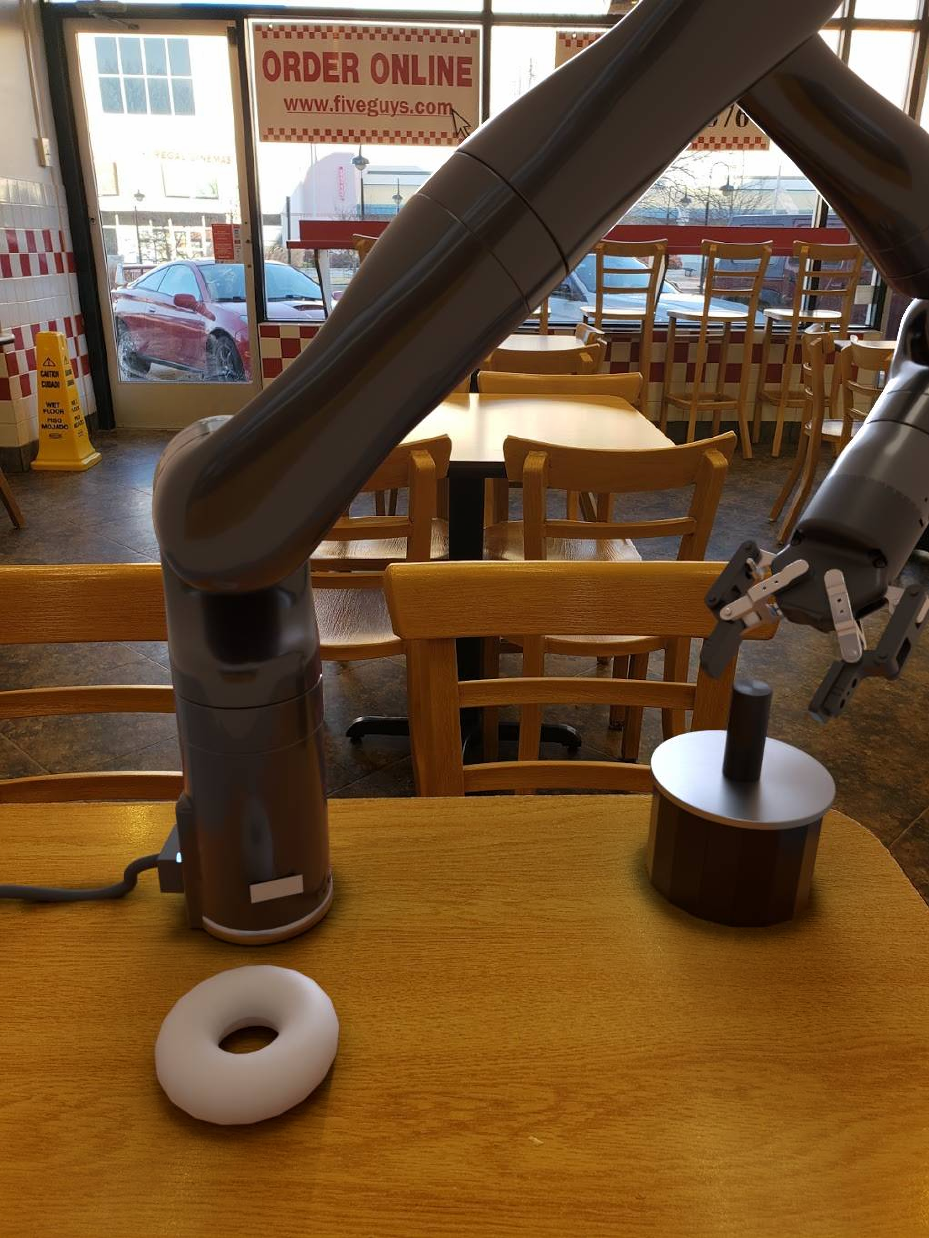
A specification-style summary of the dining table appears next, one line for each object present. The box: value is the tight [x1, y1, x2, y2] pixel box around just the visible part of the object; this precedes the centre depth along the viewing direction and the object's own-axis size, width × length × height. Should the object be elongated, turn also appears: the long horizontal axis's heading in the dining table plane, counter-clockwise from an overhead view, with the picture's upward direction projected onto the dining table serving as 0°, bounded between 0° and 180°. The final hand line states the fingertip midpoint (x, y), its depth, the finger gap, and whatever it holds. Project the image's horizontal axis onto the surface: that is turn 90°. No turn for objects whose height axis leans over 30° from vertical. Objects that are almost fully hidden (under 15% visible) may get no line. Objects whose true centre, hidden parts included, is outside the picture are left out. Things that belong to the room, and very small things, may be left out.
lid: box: [649, 679, 837, 830], centre depth 64 cm, size 12×12×8 cm
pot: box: [645, 783, 824, 929], centre depth 67 cm, size 11×11×8 cm
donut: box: [154, 964, 340, 1126], centre depth 52 cm, size 10×4×10 cm
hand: (759, 694), depth 64 cm, fingers open, 8 cm apart
